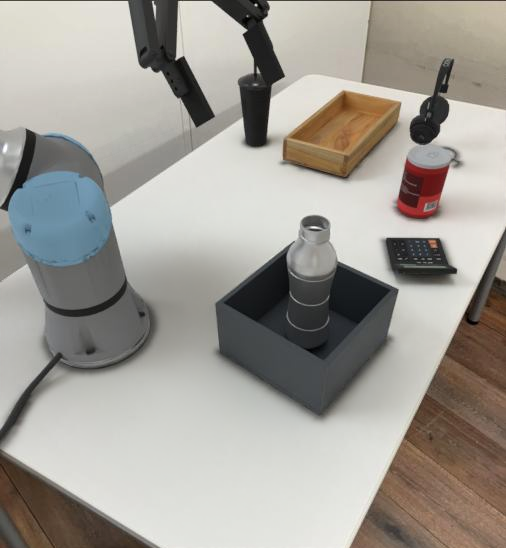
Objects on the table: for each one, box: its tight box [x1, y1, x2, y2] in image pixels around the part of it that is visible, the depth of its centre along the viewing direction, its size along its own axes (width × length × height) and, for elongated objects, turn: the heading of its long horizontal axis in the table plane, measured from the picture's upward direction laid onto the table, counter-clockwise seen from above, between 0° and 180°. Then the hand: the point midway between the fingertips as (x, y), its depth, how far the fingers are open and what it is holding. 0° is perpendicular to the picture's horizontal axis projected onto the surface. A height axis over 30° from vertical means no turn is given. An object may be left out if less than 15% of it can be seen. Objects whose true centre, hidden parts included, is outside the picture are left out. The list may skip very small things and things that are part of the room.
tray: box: [282, 89, 402, 178], centre depth 116 cm, size 31×15×6 cm, turn 149°
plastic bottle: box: [284, 214, 339, 349], centre depth 68 cm, size 6×7×20 cm
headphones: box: [408, 57, 460, 167], centre depth 104 cm, size 15×11×20 cm
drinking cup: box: [237, 60, 274, 148], centre depth 112 cm, size 8×8×20 cm
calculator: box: [385, 237, 458, 275], centre depth 87 cm, size 9×12×3 cm
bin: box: [214, 240, 400, 416], centre depth 72 cm, size 18×18×10 cm
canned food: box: [396, 144, 453, 219], centre depth 95 cm, size 8×8×11 cm
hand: (243, 101), depth 59 cm, fingers open, 13 cm apart
